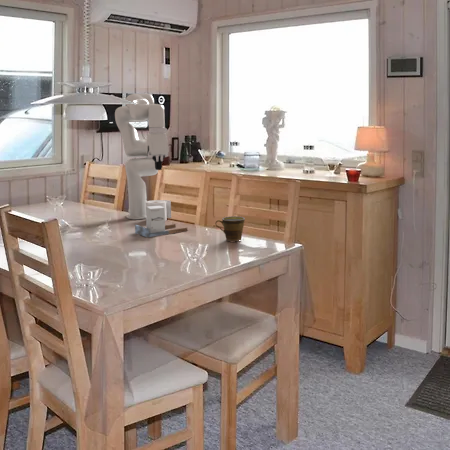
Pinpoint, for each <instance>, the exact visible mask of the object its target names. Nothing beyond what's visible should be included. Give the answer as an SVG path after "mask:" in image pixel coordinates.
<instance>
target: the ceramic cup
mask: <svg viewBox="0 0 450 450" xmlns="http://www.w3.org/2000/svg"><path fill="white" fill-rule="evenodd" d="M218 222H219V223H221V224H222V226H223V229H222V227H220V226H219V225H217V223H218ZM215 226H216V227H217V228H219V229H220V231H222V232H223V233H224V236H225V238H226V239H225V240H226V242H228V241H239V240H241V241H242V237H243V230H244V227H245V217H242V216H225V217H223V218H221V219H218V220H216V221H215ZM239 242H240V241H239Z"/></svg>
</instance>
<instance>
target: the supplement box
mask: <svg viewBox="0 0 450 450" xmlns="http://www.w3.org/2000/svg"><path fill="white" fill-rule="evenodd" d="M145 220H146V221H145V222H146V228H148V230H149V233H155V232H161V231H166V229H165V225H166V221H165V209H164V207H162V206H148V207H146V219H145Z"/></svg>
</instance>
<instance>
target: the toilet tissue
mask: <svg viewBox="0 0 450 450" xmlns="http://www.w3.org/2000/svg"><path fill="white" fill-rule="evenodd" d="M171 202H172V201H171V200H167V199H153V200H147V202H146V207H148V206H162V207H164V209H165V222H167V219H172V203H171Z"/></svg>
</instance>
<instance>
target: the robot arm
mask: <svg viewBox="0 0 450 450" xmlns="http://www.w3.org/2000/svg"><path fill="white" fill-rule="evenodd" d="M125 100H128V101H131V102H134V103H136V105H134V104H126V103H125V105H124V106H119V107H117V108H116V109H115V110H114V111H115V112H114V119H115V124H116V126H117V128H118V130H119V132H120V135H121V140H122V144H123V149H124V154H125V155H126V157H127V158H130V159H128V160H127V161H126V162H125V165H124V168H125V173H126V180H127V190H128V191H127V192H128V193H127V194H128V209H127V212H128V214H127V215H126V218H127V219H129V220H146V202H147V201H148V200H147V184H146V181H144V180H143V178H142V177H149V176H150V177H151V176H155V175H157V174H158V173H159V171H162V168H163V161H164V159H165V158H167V157H169V152H170V151H169V149H170V148H169V140H168V135H167V133H166V132H167V131H168V128H166V123H165V119H166V118H165V117H166V116H165V106H164V105H163V104H160V103H159V104H158V103H155V99H154V97H153V95H151V94H150V93H131V94H129V95H127V97H125ZM147 121H148V132H149V133H148V134H146V135H147V136H146V138H141V139H140V138H139V134H138V130H137V129H136V128H135V127H134V126H133V125H132V124H131V123H143V122H147Z"/></svg>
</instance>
